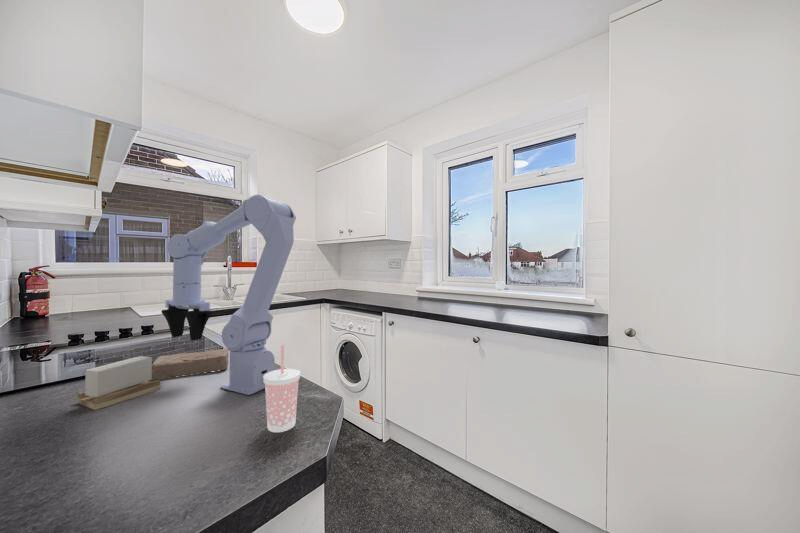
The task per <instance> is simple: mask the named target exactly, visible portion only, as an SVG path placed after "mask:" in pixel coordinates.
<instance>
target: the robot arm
mask: <svg viewBox="0 0 800 533" xmlns="http://www.w3.org/2000/svg"><path fill="white" fill-rule="evenodd" d="M296 219H297V216H296V214H295V213H294V210H293V209H292V207H291V206H290V205H289V204H287V203H284V202H279V201H276V200H274V199H270V198H269V197H265V196H264V195H261V194H255V195H254V194H253V195H252V196H250V197H248V198H247V199H244V200H243V201H242V203H241V205H240V206H239V207H238V208H237V209H235V210H234V211H232V212H231V213H229V214H228V215H226V216H225V217H224V218H222V219H220V220H219V221H217V222H215V221H203V222H201V224H202V225H200V226H198V227H197V228H195V229H193V230H189V231H188V233H186V234H184V233H183V234H181V233H175V234H173V235H172V236H171V237H170V238H169V239H168V242H167V247H166V249H167V252H168V254H169V256H170V257H172V258H173V267H172V268H173V271H172V272H173V273H172V275H173V276H172V277H173V278H172V280H173V281H172V299H166V300H165V308H167V309H162V310H161V313H162V315H163V317H164V318H165V320H166V322H167V324H168V328H169V331H170V335H171V338H177V337H183V334H184V331H185V330H184V329H185V321H186V320H187V323H188V327H189V328H188V329H189V338H190V341H196V340H197V341H198V340H201V339H202V337H203V334H204V330H205V327H206V325H207V323H208V321H209V318H210V317H211V316H212V314H213V310H210V308H211V307H210V306H211V302H209V301H206V299H201V298H202V296H201V295H202V284H201V283H202V266H203V265H204V262H205V261H204V259H205V257H206V256H207V254H208V251H209V250H212V249H213V248H216V247H217V246H219V245H222V244H223V243H225V241H226V239H227V236H228V235H230V234H232V233H234V232H237V231H239V230H240V229H243V228H245V227H247V226H250V225H252V226H253V227H254V228H255V229H256V230H257V231H258V232H259V234H260V235H261V236H262V237H263V239H264V241H265V244H264V247H263V249H262V252H261V254H260V258H259V261H258V263H257V266H256V269H255V271H254V275H253V277H252V280H251V282H250V283H251V284H250V285H249V288H248V291H247V294H246V297H245V299H244V302H243V305H242V306H241V307H239V308H238V310H236V311H235V312H234V313H232V314H231V317H230V319H229V321H228V322H227V323H226V324H225V325H224V327H223V328H222V331H221V340H222V343H223V345H224V346H225V348H226V349H228V352H229V382H227V383H223V384H222V385H220V389H224V390H227V391H231V392H235V393H240V394H243V395H247V396H250V395H253V394H256V393H257V392H260V391H262V390H265V383H264V382H263V380H264V379H263V376H264V375H265V374H266V373H268V372H270V371H274V370H275V356H274V354H273V352H272V351H270V350H268V349H267V348H266V347H265V345H266V344H267V340H268V339H269V338H270V337H271V335H272V330H273V329H272V323H273V322H272V321H273V318H274V316H273V315H272V313H270V311H269V309H270V307H271V304H272V302H273V299H274V296H275V293H276V291H277V288H278V285H279V283H280V280H281V277H282V275H283V271H284V270H285V267H286V264H287V261H288V259H289V256H290V254H291V250H292V247H293V245H294V241H295V240H294V225H295V222H296Z"/></svg>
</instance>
